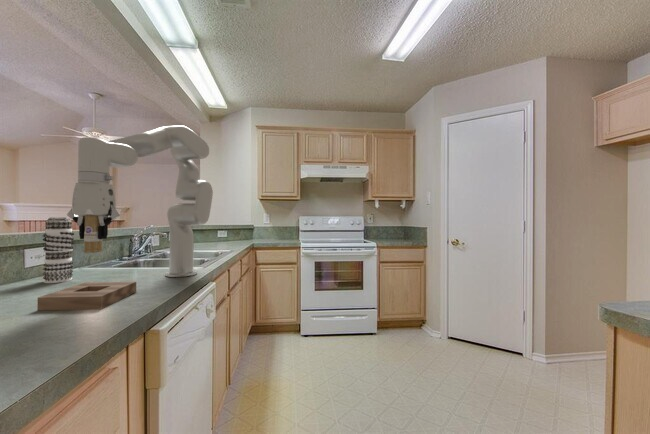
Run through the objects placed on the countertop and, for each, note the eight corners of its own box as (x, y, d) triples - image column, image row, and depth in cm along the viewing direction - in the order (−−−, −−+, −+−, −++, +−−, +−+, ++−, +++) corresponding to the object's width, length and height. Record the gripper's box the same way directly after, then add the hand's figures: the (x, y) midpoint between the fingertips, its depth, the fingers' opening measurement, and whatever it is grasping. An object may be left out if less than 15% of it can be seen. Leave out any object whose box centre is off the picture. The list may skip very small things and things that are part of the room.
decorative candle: (74, 277, 119) (75, 217, 119) (73, 281, 112) (74, 217, 112) (43, 280, 113) (44, 217, 113) (40, 284, 106) (41, 217, 106)
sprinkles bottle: (80, 253, 84) (81, 208, 84) (88, 251, 89) (88, 208, 89) (98, 252, 86) (99, 208, 86) (105, 251, 90) (106, 208, 90)
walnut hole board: (85, 292, 95) (85, 282, 95) (136, 291, 97) (136, 281, 97) (37, 310, 77) (37, 297, 77) (101, 308, 79) (101, 296, 79)
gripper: (130, 181, 92) (129, 237, 92) (73, 180, 90) (72, 237, 90) (116, 178, 84) (115, 239, 85) (53, 176, 83) (53, 239, 83)
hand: (93, 238), depth 87 cm, fingers closed on sprinkles bottle, 4 cm apart
